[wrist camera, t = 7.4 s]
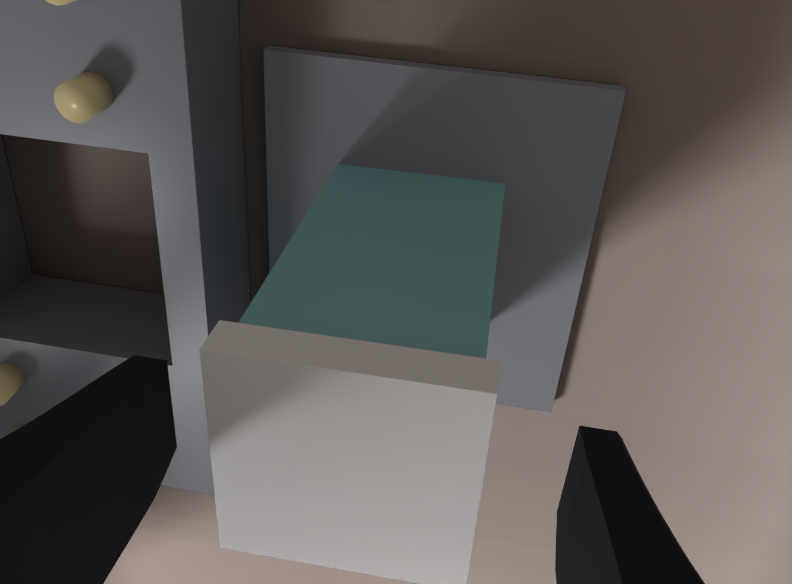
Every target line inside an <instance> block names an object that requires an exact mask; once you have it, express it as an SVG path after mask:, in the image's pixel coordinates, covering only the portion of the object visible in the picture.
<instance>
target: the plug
mask: <svg viewBox="0 0 792 584" xmlns="http://www.w3.org/2000/svg"><path fill="white" fill-rule="evenodd" d="M504 191H505V183H496V182H488V181H479V180H471V179H462V178H454V177H445V176H437V175H428V174H420V173H411V172H403V171H394V170H386V169H377V168H369V167H360V166H352V165H343V164H338V165H337V166H336V168H335V169H334V171H333V173H332V174H331V176H330V177H329V179H328V181H327V182H326V184H325V185H324V187H323V189H322V190H321V192H320V193H319V195H318V196H317V198H316V200H315V201H314V203H313V204H312V206H311V208H310V209H309V211H308V212H307V214H306V216H305V217H304V219H303V220H302V222H301V224H300V225H299V227H298V228H297V230H296V232H295V233H294V235H293V236H292V238H291V239H290V241H289V243H288V244H287V246H286V247H285V249H284V251H283V252H282V254H281V255H280V257H279V259H278V260H277V262H276V263H275V265H274V267H273V268H272V270H271V271H270V273H269V275H268V276H267V278H266V279H265V281H264V283H263V284H262V286H261V287H260V289H259V290H258V292H257V294H256V295H255V297H254V298H253V300H252V302H251V303H250V305H249V306H248V308H247V310H246V311H245V313H244V314H243V316H242V318H241V319H240V321H239V322H238V323H236V322H229V321H223V320H219V321H218V323H217V324H216V326H215V327H214V329H213V330H212V332H211V333H210V335H209V336H208V338H207V339H206V341H205V342H204V344H203V345H202V347H201V348H200V359H201V369H202V379H203V388H204V398H205V407H206V417H207V426H208V436H209V445H210V455H211V465H212V474H213V484H214V493H215V503H216V512H217V522H218V531H219V541H220V548H224V549H230V550H236V551H241V552H247V553H252V554H258V555H263V556H269V557H274V558H280V559H285V560H291V561H297V562H302V563H308V564H313V565H319V566H324V567H330V568H335V569H341V570H346V571H352V572H358V573H363V574H369V575H374V576H380V577H385V578H391V579H396V580H402V581H407V582H413V583H418V584H466V581H467V575H468V569H469V563H470V557H471V551H472V544H473V538H474V532H475V526H476V520H477V514H478V508H479V502H480V496H481V489H482V483H483V477H484V471H485V465H486V459H487V453H488V447H489V441H490V434H491V428H492V422H493V416H494V410H495V404H496V398H497V389H498V377H499V365H500V361H499V360H492V359H486V356H487V346H488V337H489V328H490V319H491V310H492V301H493V291H494V282H495V273H496V264H497V255H498V246H499V237H500V227H501V218H502V209H503V200H504Z"/></svg>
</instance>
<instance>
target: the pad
mask: <svg viewBox="0 0 792 584" xmlns="http://www.w3.org/2000/svg"><path fill="white" fill-rule="evenodd" d="M263 54H264V90H265V127H266V164H267V201H268V238H269V273H270V271H271V270H272V268H273V267H274V265H275V263H276V262H277V260H278V259H279V257H280V255H281V254H282V252H283V251H284V249H285V247H286V246H287V244H288V243H289V241H290V239H291V238H292V236H293V235H294V233H295V232H296V230H297V228H298V227H299V225H300V224H301V222H302V220H303V219H304V217H305V216H306V214H307V212H308V211H309V209H310V208H311V206H312V204H313V203H314V201H315V200H316V198H317V196H318V195H319V193H320V192H321V190H322V189H323V187H324V185H325V184H326V182H327V181H328V179H329V177H330V176H331V174H332V173H333V171H334V169H335V168H336V166H337V165H338V164H343V165H352V166H360V167H369V168H377V169H386V170H394V171H403V172H411V173H420V174H428V175H437V176H445V177H454V178H462V179H471V180H479V181H488V182H496V183H505V191H504V200H503V209H502V218H501V227H500V237H499V246H498V255H497V264H496V273H495V282H494V291H493V301H492V310H491V319H490V328H489V337H488V346H487V356H486V359H492V360H499V361H500V365H499V377H498V389H497V398H496V404H501V405H508V406H514V407H520V408H526V409H532V410H539V411H545V412H552V407H553V403H554V399H555V395H556V390H557V386H558V382H559V377H560V373H561V369H562V365H563V360H564V356H565V352H566V347H567V343H568V339H569V335H570V330H571V326H572V322H573V317H574V313H575V309H576V305H577V300H578V296H579V292H580V287H581V283H582V279H583V275H584V270H585V266H586V262H587V257H588V253H589V249H590V245H591V240H592V236H593V232H594V227H595V223H596V219H597V215H598V210H599V206H600V202H601V197H602V193H603V189H604V185H605V180H606V176H607V172H608V167H609V163H610V159H611V155H612V150H613V146H614V142H615V137H616V133H617V129H618V124H619V120H620V116H621V112H622V107H623V103H624V99H625V94H626V89H625V86H622V85H613V84H604V83H596V82H587V81H578V80H569V79H560V78H551V77H542V76H534V75H525V74H516V73H507V72H498V71H489V70H480V69H472V68H463V67H454V66H445V65H436V64H427V63H419V62H410V61H401V60H392V59H383V58H374V57H365V56H357V55H348V54H339V53H330V52H321V51H312V50H303V49H295V48H286V47H277V46H268V47H266V48H265V49H264V50H263Z"/></svg>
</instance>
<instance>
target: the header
mask: <svg viewBox="0 0 792 584" xmlns="http://www.w3.org/2000/svg"><path fill="white" fill-rule="evenodd" d="M1 134H4V135H11V136H19V137H26V138H34V139H42V140H49V141H57V142H64V143H72V144H80V145H87V146H95V147H103V148H110V149H118V150H125V151H133V152H141V153H148V158H149V167H150V175H151V184H152V192H153V201H154V210H155V218H156V227H157V235H158V244H159V253H160V261H161V270H162V278H163V287H164V294H159V293H152V292H146V291H139V290H132V289H126V288H119V287H113V286H106V285H100V284H93V283H86V282H80V281H73V280H67V279H60V278H54V277H47V276H40V275H34V274H32V269H31V265H30V260H29V256H28V252H27V247H26V243H25V238H24V234H23V229H22V225H21V220H20V216H19V211H18V207H17V202H16V198H15V193H14V189H13V184H12V180H11V175H10V171H9V167H8V162H7V158H6V153H5V149H4V144H3V140H2V135H1ZM250 303H251V295H250V272H249V249H248V226H247V203H246V180H245V157H244V134H243V111H242V88H241V65H240V43H239V20H238V0H0V439H1V438H3V437H5V436H6V435H8V434H10V433H11V432H13V431H15V430H17V429H18V428H20V427H22V426H24V425H25V424H27V423H29V422H30V421H32V420H34V419H35V418H37V417H38V416H40V415H42V414H43V413H45V412H46V411H48V410H49V409H51V408H53V407H54V406H56V405H57V404H59V403H60V402H62V401H64V400H65V399H67V398H68V397H70V396H71V395H73V394H74V393H76V392H78V391H79V390H81V389H82V388H84V387H85V386H87V385H88V384H90V383H91V382H93V381H94V380H96V379H97V378H99V377H100V376H102V375H103V374H105V373H107V372H108V371H110V370H111V369H113V368H114V367H116V366H117V365H119V364H121V363H122V362H124V361H125V360H127V359H129V358H130V357H132V356H134V355H137V356H143V357H149V358H156V359H162V360H167V365H168V374H169V382H170V391H171V399H172V407H173V416H174V424H175V433H176V441H177V448H176V450H175V453H174V455H173V458H172V460H171V462H170V465H169V467H168V469H167V472H166V474H165V476H164V479H163V481H162V483H161V486H167V487H173V488H178V489H184V490H189V491H195V492H200V493H206V494H211V495H215V493H214V484H213V474H212V465H211V455H210V445H209V436H208V426H207V417H206V407H205V398H204V388H203V379H202V369H201V359H200V348H201V347H202V345H203V344H204V342H205V341H206V339H207V338H208V336H209V335H210V333H211V332H212V330H213V329H214V327H215V326H216V324H217V323H218V321H219V320H223V321H229V322H236V323H238V322H239V321H240V319H241V318H242V316H243V314H244V313H245V311H246V310H247V308H248V306H249V305H250Z"/></svg>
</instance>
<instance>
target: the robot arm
mask: <svg viewBox="0 0 792 584" xmlns="http://www.w3.org/2000/svg"><path fill="white" fill-rule="evenodd" d="M176 448H177V441H176V433H175V424H174V416H173V407H172V399H171V391H170V382H169V374H168V365H167V360H162V359H156V358H149V357H143V356H137V355H134V356H132V357H130V358H129V359H127V360H125V361H124V362H122V363H121V364H119V365H117V366H116V367H114V368H113V369H111V370H110V371H108V372H107V373H105V374H103V375H102V376H100V377H99V378H97V379H96V380H94V381H93V382H91V383H90V384H88V385H87V386H85V387H84V388H82V389H81V390H79V391H78V392H76V393H74V394H73V395H71V396H70V397H68V398H67V399H65V400H64V401H62V402H60V403H59V404H57V405H56V406H54V407H53V408H51V409H49V410H48V411H46V412H45V413H43V414H42V415H40V416H38V417H37V418H35V419H34V420H32V421H30V422H29V423H27V424H25V425H24V426H22V427H20V428H18V429H17V430H15V431H13V432H11V433H10V434H8V435H6V436H5V437H3V438H1V439H0V584H103V583H104V581H105V580H106V578H107V577H108V575H109V573H110V572H111V570H112V568H113V567H114V565H115V563H116V562H117V560H118V558H119V557H120V555H121V553H122V552H123V550H124V549H125V547H126V545H127V544H128V542H129V540H130V539H131V537H132V535H133V534H134V532H135V530H136V529H137V527H138V525H139V524H140V522H141V520H142V519H143V517H144V515H145V514H146V512H147V510H148V508H149V507H150V505H151V503H152V502H153V500H154V498H155V496H156V494H157V492H158V490H159V487H160V485H161V483H162V481H163V479H164V476H165V474H166V472H167V469H168V467H169V465H170V462H171V460H172V458H173V455H174V453H175V450H176ZM555 569H556V581H557V584H705V583H704V582H703V580H702V579H701V577H700V576H699V574H698V573H697V571H696V570H695V568H694V567H693V565H692V564H691V562H690V561H689V559H688V558H687V556H686V555H685V553H684V551H683V550H682V548H681V547H680V545H679V543H678V542H677V540H676V538H675V537H674V535H673V533H672V532H671V530H670V528H669V527H668V525H667V523H666V521H665V520H664V518H663V516H662V515H661V513H660V511H659V510H658V508H657V506H656V504H655V502H654V501H653V499H652V497H651V495H650V493H649V491H648V490H647V488H646V486H645V484H644V482H643V480H642V478H641V476H640V474H639V472H638V470H637V468H636V467H635V465H634V462H633V460H632V458H631V456H630V454H629V452H628V450H627V448H626V446H625V444H624V442H623V440H622V438H621V436H620V435H619V434H618V432H616V431H610V430H604V429H597V428H591V427H585V426H579V430H578V434H577V437H576V441H575V445H574V449H573V453H572V457H571V460H570V464H569V468H568V472H567V476H566V479H565V483H564V487H563V491H562V495H561V499H560V502H559V506H558V510H557V530H556V568H555Z"/></svg>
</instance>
